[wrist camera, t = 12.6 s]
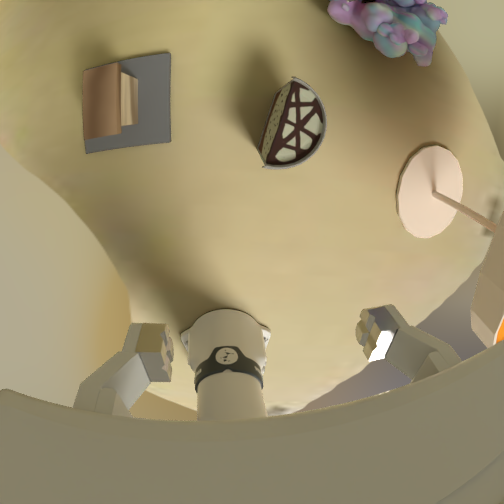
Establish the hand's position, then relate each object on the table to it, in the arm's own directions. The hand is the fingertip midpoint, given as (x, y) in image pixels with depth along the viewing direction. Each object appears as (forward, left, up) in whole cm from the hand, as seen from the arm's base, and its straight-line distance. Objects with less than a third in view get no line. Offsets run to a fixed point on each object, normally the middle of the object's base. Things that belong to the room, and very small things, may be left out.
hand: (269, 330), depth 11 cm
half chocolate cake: (+7, -8, -33) cm, 35 cm away
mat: (+12, +16, -33) cm, 39 cm away
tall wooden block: (+12, +16, -32) cm, 38 cm away
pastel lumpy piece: (+31, -22, -33) cm, 51 cm away
